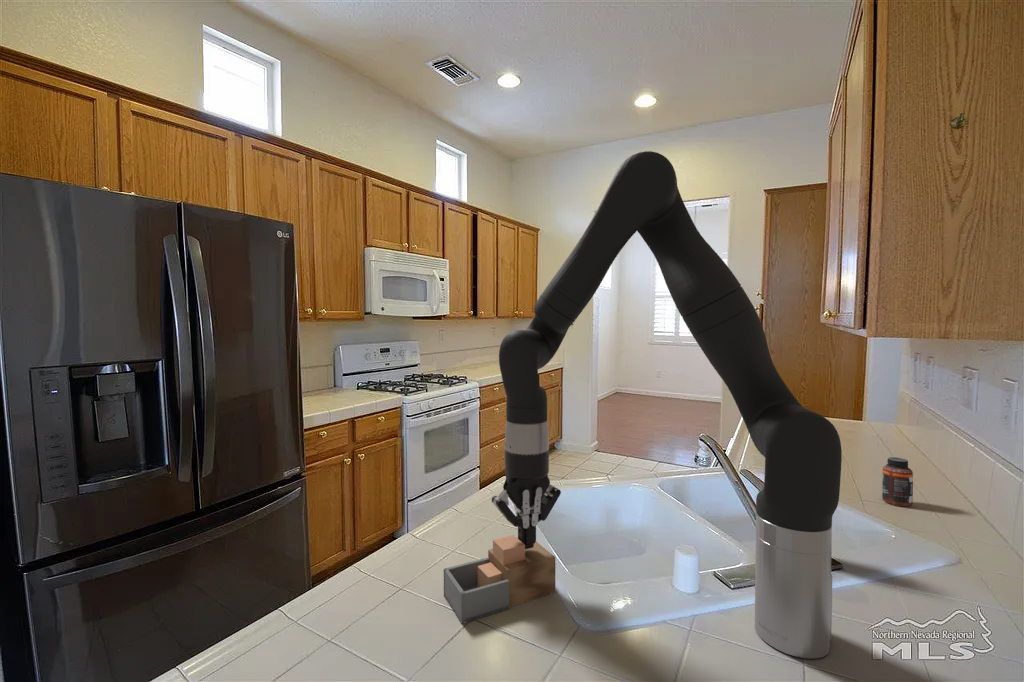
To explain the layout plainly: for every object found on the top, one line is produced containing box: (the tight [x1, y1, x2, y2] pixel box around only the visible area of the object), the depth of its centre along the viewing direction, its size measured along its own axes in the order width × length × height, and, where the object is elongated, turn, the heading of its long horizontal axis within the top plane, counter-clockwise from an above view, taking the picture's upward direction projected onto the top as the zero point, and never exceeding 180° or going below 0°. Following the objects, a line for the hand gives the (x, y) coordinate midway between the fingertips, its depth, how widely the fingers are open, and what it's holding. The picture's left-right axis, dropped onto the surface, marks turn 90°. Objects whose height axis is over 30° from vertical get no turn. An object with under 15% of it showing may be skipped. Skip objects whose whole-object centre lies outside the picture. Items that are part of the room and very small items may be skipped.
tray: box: [443, 557, 510, 625], centre depth 73 cm, size 8×8×4 cm
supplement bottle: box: [881, 456, 914, 507], centre depth 116 cm, size 6×6×11 cm
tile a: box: [492, 534, 525, 565], centre depth 76 cm, size 4×4×2 cm
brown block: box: [487, 541, 556, 608], centre depth 77 cm, size 9×8×6 cm
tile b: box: [478, 562, 502, 587], centre depth 75 cm, size 4×4×2 cm
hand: (527, 546), depth 78 cm, fingers closed
